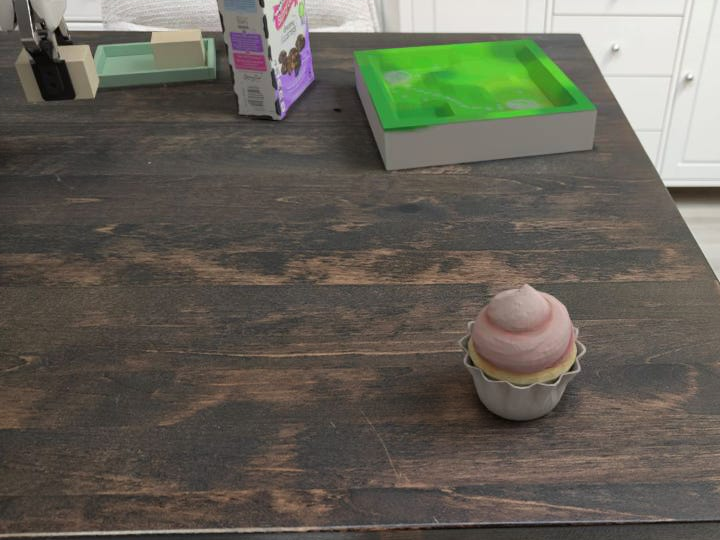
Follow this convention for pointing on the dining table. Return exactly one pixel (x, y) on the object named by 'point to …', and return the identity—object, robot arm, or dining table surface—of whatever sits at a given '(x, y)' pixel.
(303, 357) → the dining table surface
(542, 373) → the cupcake
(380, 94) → the tray
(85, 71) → the loose pad
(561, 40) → the dining table surface
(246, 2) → the candy box
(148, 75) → the frame
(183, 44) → the seated pad
